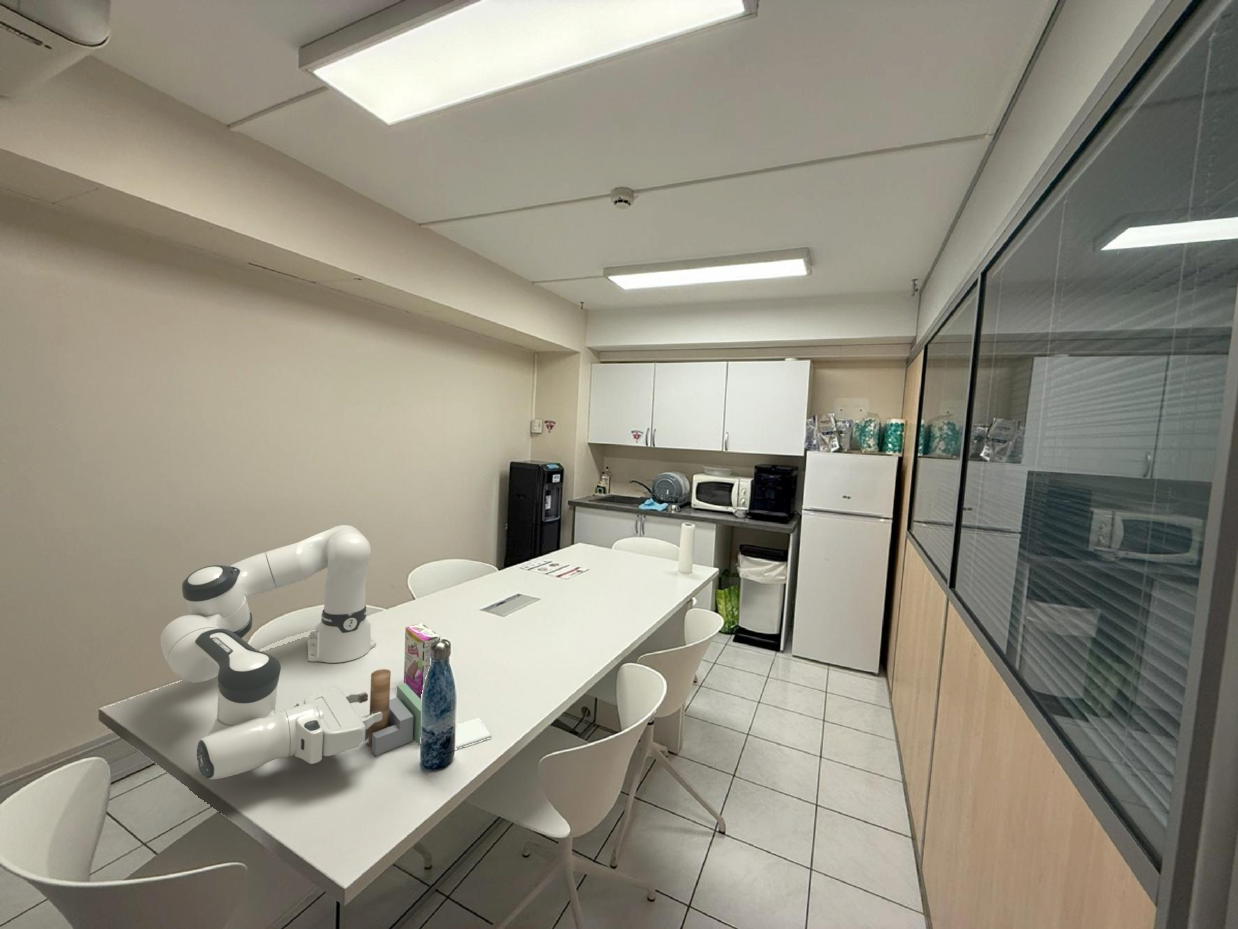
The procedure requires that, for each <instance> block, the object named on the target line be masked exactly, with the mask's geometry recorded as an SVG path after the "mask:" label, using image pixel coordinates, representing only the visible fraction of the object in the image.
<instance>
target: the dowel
mask: <svg viewBox="0 0 1238 929" xmlns="http://www.w3.org/2000/svg"><path fill="white" fill-rule="evenodd" d="M391 673H392V672H391V670H390V669H387V668H382V669H377V670H375V671H373V672H371V674H370V693H369V694H370V696H369V714H370V715H372V712H374V711H377V710H380V711H381V712H382V714H383V715H382V720H381V721H378V722H375V723H374V724H372V725H371V726H370V727H369V737H368V746H371V747H372V733H374V732H377V731H379V730H382V729H385V728H388V725H389V701H390V699H391V698H390V697H391V696H390V695H391V694H390V693H391Z"/></svg>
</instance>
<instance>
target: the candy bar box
mask: <svg viewBox="0 0 1238 929" xmlns="http://www.w3.org/2000/svg"><path fill="white" fill-rule="evenodd" d="M404 629H405V633H404V635H405V636H404V637H405V638H404V666H403V668H404V670H403V684H404V683H406V684H407V685H408V686H409V687H410V689H411V690H412V691H413V692H414V693H415V694H416V695H417V696H418V697H419V698H420V699H421V694H422V690H423V685H424V683H425V677H426V675H427V673H428V669H429V667H430V645H431V644H432V642H433V641H436V640H440V641H441V636H440V635H439V634H437V632H435V631H433V630H432V629H431V628H429V627H428V626H426V625H425V624H423V623H422V622H421V623H417V624H413V625H409V626H406V627H404Z"/></svg>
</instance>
